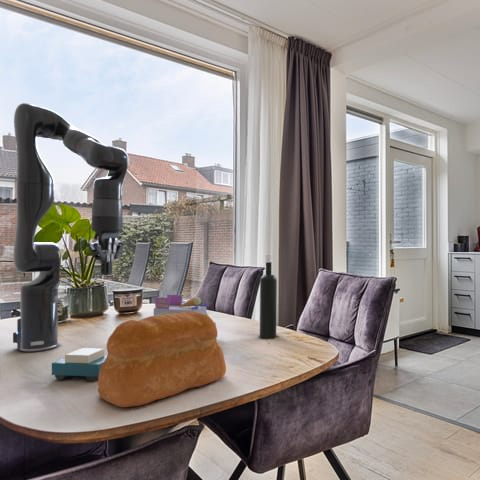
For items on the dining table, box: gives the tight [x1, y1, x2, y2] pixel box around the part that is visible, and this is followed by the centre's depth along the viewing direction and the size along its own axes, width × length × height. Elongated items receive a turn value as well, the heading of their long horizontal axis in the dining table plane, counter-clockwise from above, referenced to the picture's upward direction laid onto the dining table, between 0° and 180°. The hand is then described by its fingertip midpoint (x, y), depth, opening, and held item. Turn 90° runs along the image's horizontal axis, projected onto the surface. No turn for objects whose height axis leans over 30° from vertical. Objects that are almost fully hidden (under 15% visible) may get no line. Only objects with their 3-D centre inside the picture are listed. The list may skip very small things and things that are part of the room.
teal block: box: [51, 347, 107, 382], centre depth 104 cm, size 12×6×7 cm
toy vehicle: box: [153, 294, 217, 326], centre depth 140 cm, size 9×20×15 cm, turn 78°
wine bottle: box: [259, 252, 278, 340], centre depth 146 cm, size 6×6×30 cm
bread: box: [97, 311, 227, 408], centre depth 97 cm, size 16×26×17 cm, turn 144°
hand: (106, 274), depth 118 cm, fingers closed
